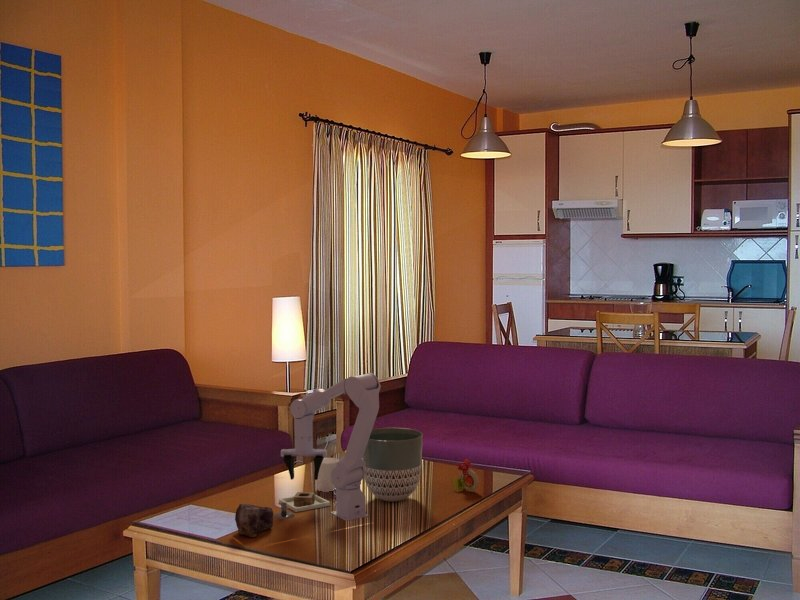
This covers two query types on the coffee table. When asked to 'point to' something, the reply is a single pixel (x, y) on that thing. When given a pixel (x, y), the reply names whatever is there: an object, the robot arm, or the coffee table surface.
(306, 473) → the coffee table surface
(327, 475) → the white cup
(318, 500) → the tray
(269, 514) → the rock
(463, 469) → the bird rattle
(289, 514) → the grey knobbed lid
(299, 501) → the brown square frame
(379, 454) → the planter
